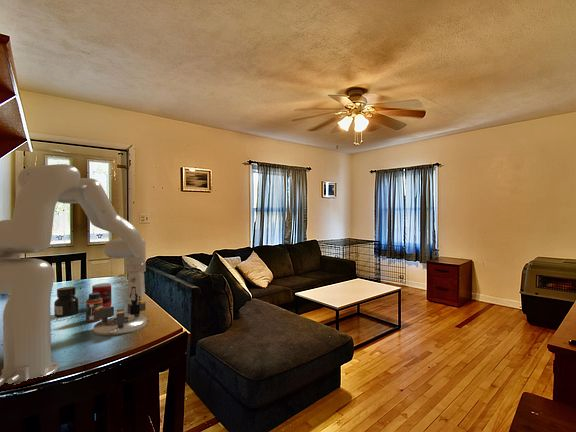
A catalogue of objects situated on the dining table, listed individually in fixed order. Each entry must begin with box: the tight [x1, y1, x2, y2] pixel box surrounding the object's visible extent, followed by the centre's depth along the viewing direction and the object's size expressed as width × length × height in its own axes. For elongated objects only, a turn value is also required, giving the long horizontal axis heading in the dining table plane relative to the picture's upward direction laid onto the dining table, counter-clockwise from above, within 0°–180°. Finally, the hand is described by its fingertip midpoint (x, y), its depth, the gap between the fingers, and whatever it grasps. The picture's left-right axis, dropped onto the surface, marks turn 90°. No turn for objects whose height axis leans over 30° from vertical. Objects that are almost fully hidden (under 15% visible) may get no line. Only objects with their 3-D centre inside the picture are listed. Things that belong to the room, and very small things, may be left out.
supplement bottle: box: [85, 292, 103, 323], centre depth 124 cm, size 6×6×11 cm
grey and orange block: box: [127, 300, 147, 317], centre depth 120 cm, size 6×2×6 cm, turn 142°
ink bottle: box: [53, 286, 80, 318], centre depth 133 cm, size 10×9×12 cm
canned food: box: [91, 282, 113, 307], centre depth 144 cm, size 8×8×11 cm
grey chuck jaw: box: [116, 308, 125, 327], centre depth 109 cm, size 6×2×6 cm, turn 29°
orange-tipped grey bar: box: [95, 306, 115, 323], centre depth 115 cm, size 6×2×6 cm, turn 89°
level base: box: [93, 314, 147, 337], centre depth 114 cm, size 18×18×4 cm
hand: (136, 312), depth 120 cm, fingers closed on grey and orange block, 4 cm apart
